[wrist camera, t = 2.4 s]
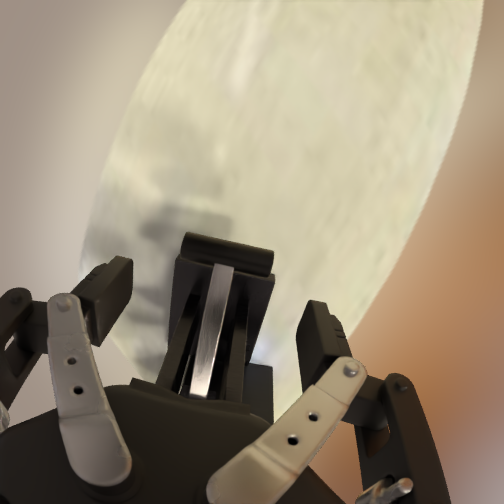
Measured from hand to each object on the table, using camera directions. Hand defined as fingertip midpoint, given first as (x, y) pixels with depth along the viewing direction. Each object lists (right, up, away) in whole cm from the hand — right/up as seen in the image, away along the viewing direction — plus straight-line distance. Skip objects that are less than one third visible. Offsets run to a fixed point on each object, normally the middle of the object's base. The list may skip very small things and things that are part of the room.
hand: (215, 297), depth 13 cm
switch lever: (-1, -3, +4) cm, 6 cm away
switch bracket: (-2, -3, +13) cm, 13 cm away
